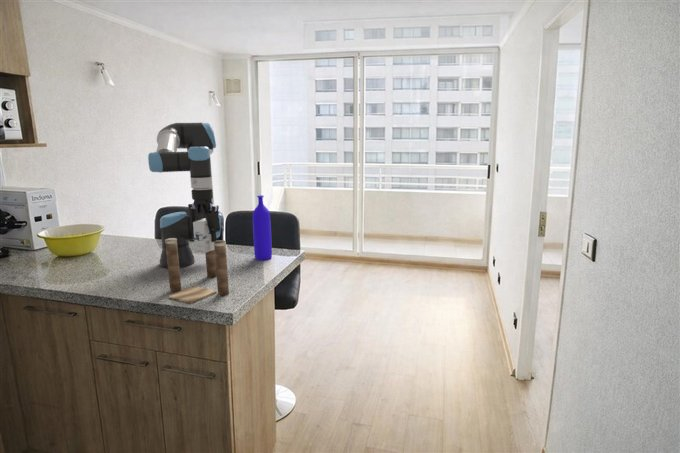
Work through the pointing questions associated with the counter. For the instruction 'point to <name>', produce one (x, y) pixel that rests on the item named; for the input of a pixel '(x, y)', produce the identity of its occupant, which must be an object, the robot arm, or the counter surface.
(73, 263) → the counter surface
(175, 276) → the gate post
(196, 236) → the ink box
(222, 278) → the corner post
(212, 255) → the gate post
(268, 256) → the bottle
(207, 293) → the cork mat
